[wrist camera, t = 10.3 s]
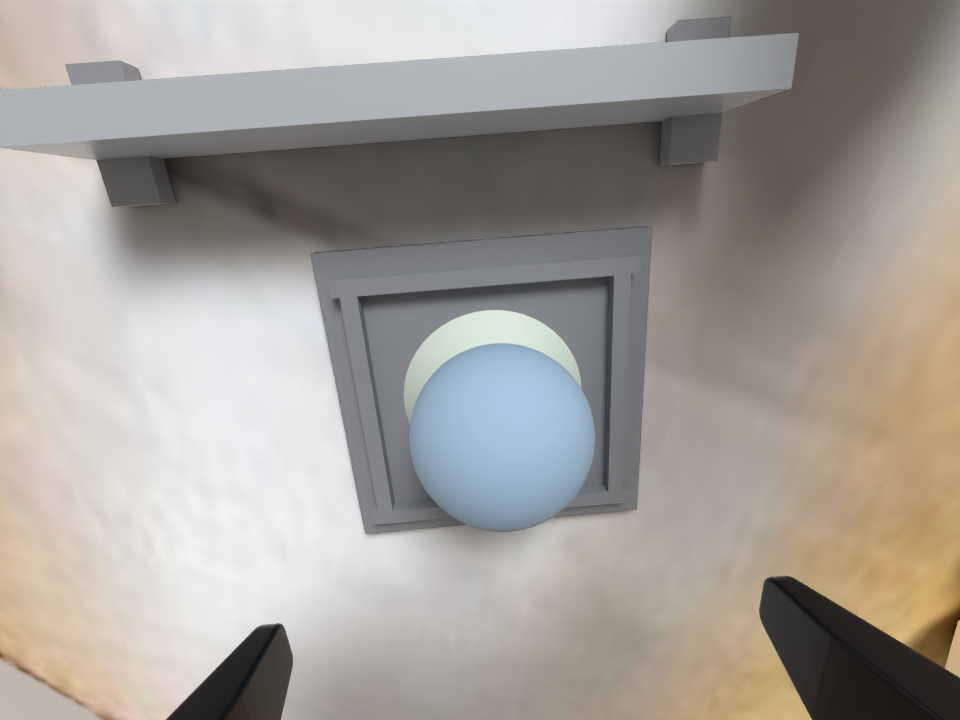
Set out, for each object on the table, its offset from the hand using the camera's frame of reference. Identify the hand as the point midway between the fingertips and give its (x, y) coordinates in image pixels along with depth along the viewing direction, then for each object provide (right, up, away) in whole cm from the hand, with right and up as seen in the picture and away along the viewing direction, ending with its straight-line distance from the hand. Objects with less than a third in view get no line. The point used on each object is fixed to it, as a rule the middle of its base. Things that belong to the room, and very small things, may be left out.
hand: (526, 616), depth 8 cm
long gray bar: (-3, +13, +7) cm, 15 cm away
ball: (0, +3, +9) cm, 10 cm away
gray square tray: (0, +4, +10) cm, 10 cm away
